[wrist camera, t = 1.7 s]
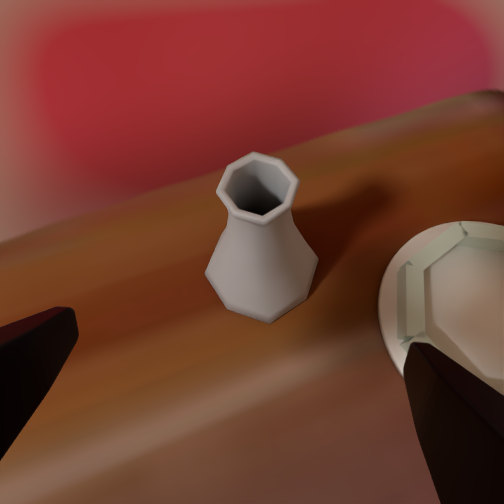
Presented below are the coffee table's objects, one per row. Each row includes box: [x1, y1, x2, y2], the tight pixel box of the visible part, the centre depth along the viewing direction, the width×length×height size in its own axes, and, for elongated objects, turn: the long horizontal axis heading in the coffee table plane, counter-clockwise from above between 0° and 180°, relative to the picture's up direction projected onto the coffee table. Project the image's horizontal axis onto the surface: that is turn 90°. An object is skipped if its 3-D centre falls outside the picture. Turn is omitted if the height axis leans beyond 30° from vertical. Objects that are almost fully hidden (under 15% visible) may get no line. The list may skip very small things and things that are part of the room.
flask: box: [205, 152, 319, 324], centre depth 18 cm, size 7×7×10 cm
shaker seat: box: [377, 221, 504, 395], centre depth 20 cm, size 13×13×2 cm
